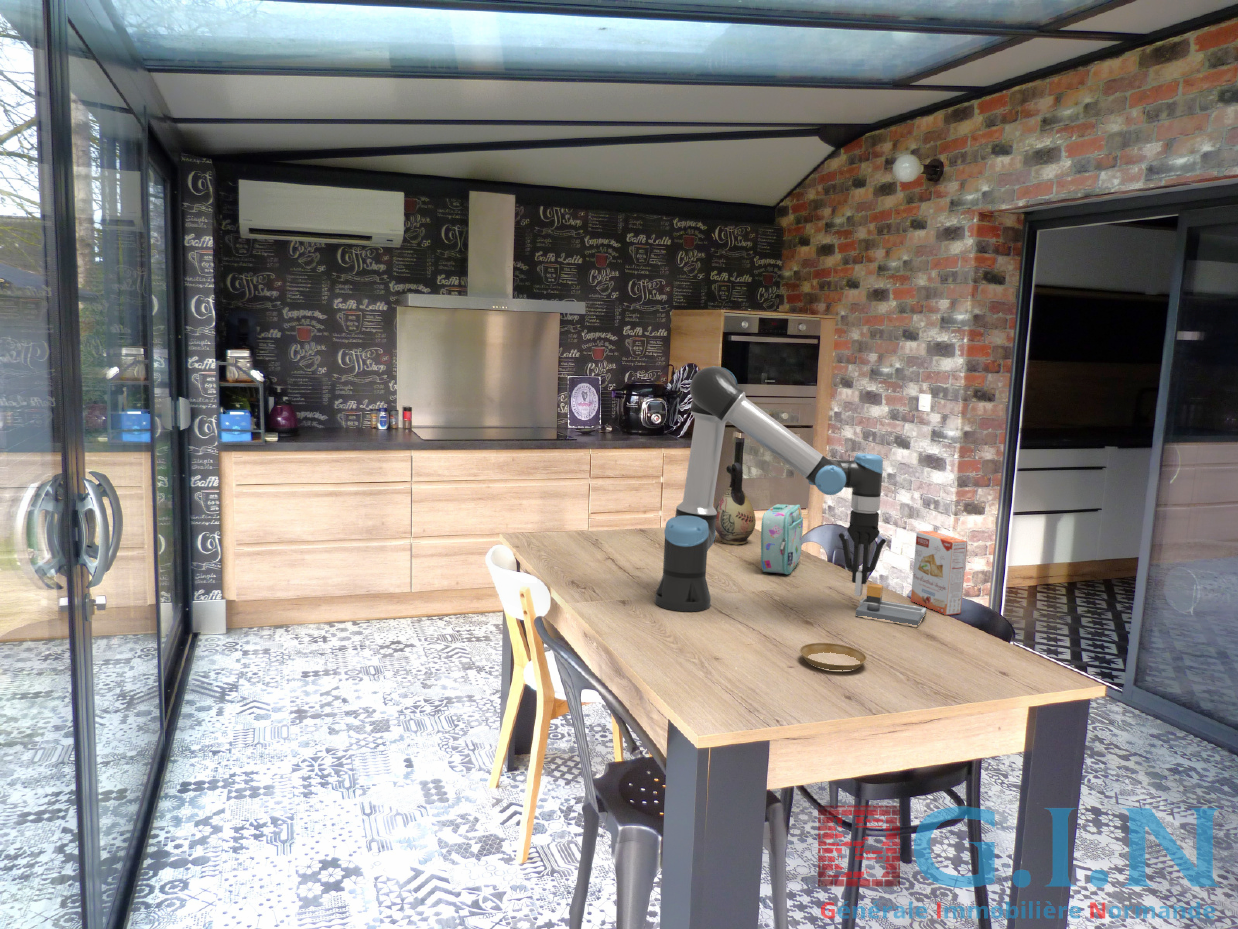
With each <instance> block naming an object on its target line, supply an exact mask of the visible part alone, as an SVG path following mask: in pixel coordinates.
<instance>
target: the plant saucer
mask: <svg viewBox="0 0 1238 929" xmlns="http://www.w3.org/2000/svg"><path fill="white" fill-rule="evenodd" d="M799 652H800V654H801V656H802V658H803V659H804V660H805V661H806V662H807V663H808V664H809V665H810V664H812V665H814V666H816V667H820V668H824V669H829V670H842V671H843V670H852V669H855V670H857V669H859V668H860V667H861V666H863V665H864V663H865V662H866V661H867V660H868V658H867V655H866V654H865V653H864V652H863V651H861V650H859V649H857V648H854V647H851V646H850V645H849V646H848V645H844V644H841V643H840V644H839V643H833V642H812V643H807V644H804V645H802V646H800V648H799ZM823 652H824V653H830V652H831V653H836V654H845V655H848V656H850V657H854V658H856V660H858V661H860V664H855V665H834V664H827V663H822V662H818V661H815V660H812V659H810V658H808V656H809V655H811V654H818V653H823ZM812 665H811V666H812ZM856 668H857V669H856Z"/></svg>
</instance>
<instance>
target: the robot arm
mask: <svg viewBox="0 0 1238 929" xmlns="http://www.w3.org/2000/svg"><path fill="white" fill-rule="evenodd" d="M689 386H690V387H689V392H690V396H691V398H692V402H691V408H690V409H691V410H690V413H691V415H692V416H693V418H694V423H693V424H694V425H693V430H692V438H691V444H690V450H689V459H688V465H687V471H686V479H685V484H684V491H683V498H682V501H681V502H680V503H679V504H678V505H676V509H675V516H673V517H671V518H669V519H668V520H667V521H666V524H665V528H664V548H663V568H662V575H661V576H662V577H661V579H660V581H659V585H658V587H657V589H656V591H655V594H654V596H655V597H654V603H655V604H656V605H657V606H659V608H663V609H666V610H669V611H670V610H671V611H676V612H698V611H699V612H701V611H705V610H707V609H710V607H711V603H712V602H711V600H712V599H711V593H710V590H709V586H708V581H707V578H706V576H707V574H706V573H707V561H708V560H707V559H708V551H709V550H710V548H711V547H712V546H713V544H714V541H715V539H716V533H717V532H716V530H715V523H716V517H717V511H716V508H715V507H714V499H715V493H716V489H717V488H716V486H717V480H718V474H719V469H720V468H719V467H720V462H721V453H722V446H723V442H724V436H725V435H724V434H725V427H726V423H727V422H729V423H730V424H732V425H733V426H735V427H736V428H737V429H738V430H740V431H742V432H743V433H744V434H745V435H747V436H748V437H749V438H750V439H752V440H753V441H755V442H756V443H757V444H759V445H760V446H762V448H764V449H766V450H767V451H768V452H770V453H771V454H772V455H774V456H776V458H778V459H779V460H780V461H782V462H783V463H785V464H786V465H787V466H788V467H790V468H792V469H793V470H794V471H795V472H797V473H798V474H799V475H801V476H803V477H804V478H805V479H806V480H808V484H809V485H810V486H815V487H816V488H817V490H818V491H819V492H821V493H822V494H824V495H826V496H834V495H837V494H839V493H840V492H842V491H843V490H844V488H845V489H846V488H847V489H852V490H851V502H850V508H851V511H850V514H849V515H850V516H849V525H848V527H847V529H846V531H842V532H840V533H839V534H838V537H839V539H840V541H841V544H842V550H843V556H844V561H845V562H844V563H845V567H846V569H849V570H851V572H852V573H851V574H852V575H851V582H852V583H853V584H854V585H855V586H854V596H856V597H861V596H862V595H863V588H864V585H866V584H867V582H868V575H869V574H868V573H872V572H874V571H875V569H876V568H877V564H878V561H879V559H880V556H881V552H882V549H883V547H884V545H885V544H886V543H887V542H888V539H887V537H883V535H881V534H880V530H879V520H880V513H879V511H880V509H881V508H880V506H881V493H882V483H883V473H884V472H883V470H884V469H883V468H884V467H883V466H884V459H883V457H882V456H881V455H879V454H875V453H856V454H855V455H854V458H853V459H852V460H846V459H845V460H844V459H832V458H831V459H830V458H828V457H826V456H824V455H823V454H822V453H821V452H819V451H818V450H817V449H815V448H814V447H812V446H811V445H810V444H809V443H807V442H805V441H804V440H803V439H802V438H801V437H799V436H797V434H795V433H794V432H793V431H791V430H789V428H787V427H786V426H784V425H783V424H782V423H780V422H779V421H777V419H775V418H773V417H772V416H771V415H770V414H768V413H767V412H765V411H764V410H763V409H761V408H760V407H759V406H757V405H756V404H755V403H753V402H752V401H751V400H749V399H748V398H747V397H746V392H745V391H744V390H742V389H741V388H740V387H739V386H738V381H737V378H736V377H735V375H734V374H733V372H731V371H730V370H729V369H727V368H725V367H722V366H715V365H713V366H708V367H704V368H702V369H700V370H699V371H697V372H696V373H695V374H694V375H693V377H692V379H691V381H690V384H689ZM849 538H851V540H852V542H853V556H852V554H851V547H850V543H849V542H850V541H849ZM876 539H877V540H876ZM875 540H876V543H877V545H876V547H875V550H874V553H873V556H872V559H871V562H870V553H871V545H872V543H873V542H874V541H875ZM862 545H863V550H862V551H863V553H862V554H863V555H862V562H861V563H862V566H861V570H859V569H860V556H861V548H862V547H861V546H862ZM852 558H853V559H852ZM704 609H705V610H704Z"/></svg>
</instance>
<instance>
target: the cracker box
mask: <svg viewBox="0 0 1238 929" xmlns="http://www.w3.org/2000/svg"><path fill="white" fill-rule="evenodd" d="M914 547H915V548H914V557H913V558H914V560H913V572H912V583H911V591H910V592H911V593H910V602H912V603H914V602H915V603H914V604H916V603H917V605H919V604H920V605H919V606H921V605H922V606H921V607H924V606H925V607H924V608H926V607H927V609H929V610H931V609H933V610H932V611H934V610H935V611H934V612H936V611H938V612H939V614H941V613H944V615H943V616H953V615H960V614H961V612H962V604H963V603H962V602H963V593H964V591H963V590H964V581H965V571H966V562H967V551H968V540H966V539H965V540H964V539H961V538H958V537H954V536H951V535H949V534H944V533H941V532H938V531H933V530H919V531H916V538H915V546H914ZM960 598H961V599H960ZM938 612H937V613H938Z"/></svg>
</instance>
